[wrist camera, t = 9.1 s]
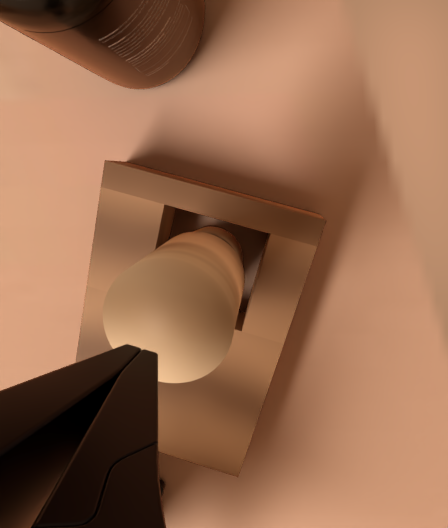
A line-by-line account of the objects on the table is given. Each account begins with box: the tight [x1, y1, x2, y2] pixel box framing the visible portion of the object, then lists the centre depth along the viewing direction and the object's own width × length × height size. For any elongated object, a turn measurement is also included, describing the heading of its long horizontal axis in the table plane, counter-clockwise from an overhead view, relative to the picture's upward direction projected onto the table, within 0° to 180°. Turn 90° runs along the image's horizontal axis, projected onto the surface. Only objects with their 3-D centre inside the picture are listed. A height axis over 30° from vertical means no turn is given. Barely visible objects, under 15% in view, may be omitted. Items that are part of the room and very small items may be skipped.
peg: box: [103, 226, 245, 383], centre depth 15 cm, size 4×4×9 cm
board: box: [76, 160, 326, 477], centre depth 20 cm, size 16×11×2 cm
